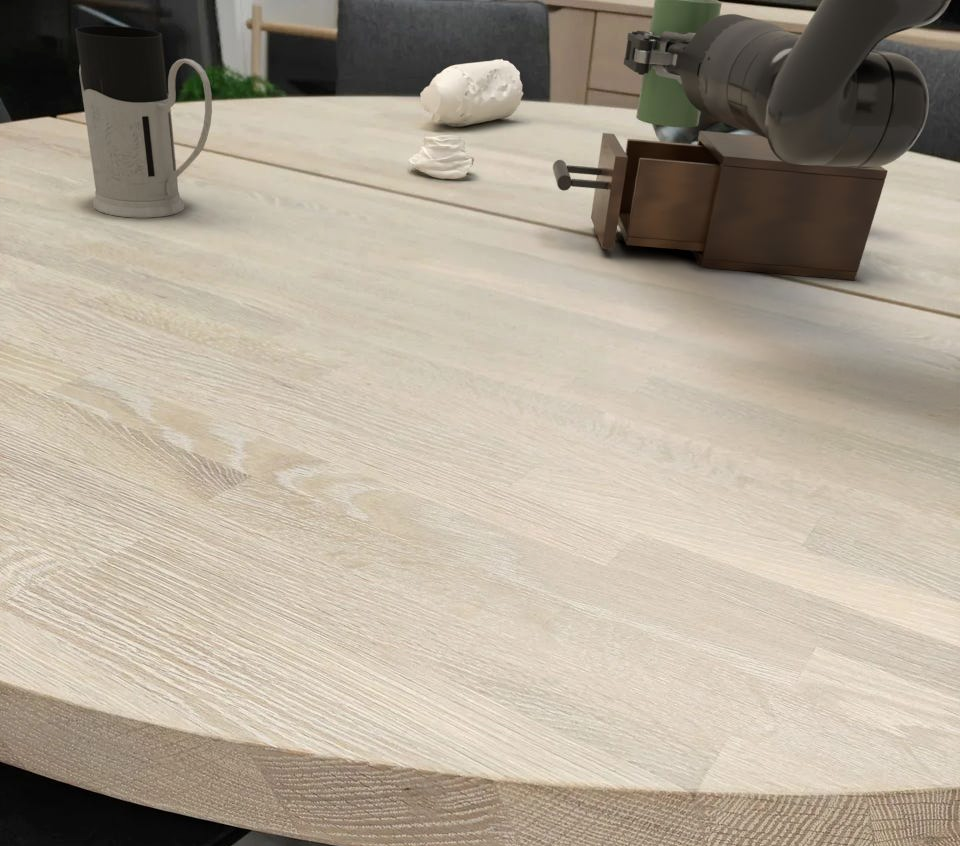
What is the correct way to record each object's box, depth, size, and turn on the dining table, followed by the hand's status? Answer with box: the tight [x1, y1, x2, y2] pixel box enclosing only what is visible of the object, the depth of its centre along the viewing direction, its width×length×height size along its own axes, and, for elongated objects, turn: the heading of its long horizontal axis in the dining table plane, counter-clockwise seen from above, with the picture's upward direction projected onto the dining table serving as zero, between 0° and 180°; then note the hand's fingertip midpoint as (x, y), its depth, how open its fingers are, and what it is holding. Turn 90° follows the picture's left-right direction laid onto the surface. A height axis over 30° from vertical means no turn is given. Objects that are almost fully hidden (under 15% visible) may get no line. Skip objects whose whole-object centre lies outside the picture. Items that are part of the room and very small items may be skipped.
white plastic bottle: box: [419, 58, 525, 128], centre depth 146 cm, size 8×19×8 cm, turn 146°
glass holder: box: [74, 25, 213, 219], centre depth 94 cm, size 9×14×15 cm, turn 64°
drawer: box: [552, 132, 721, 251], centre depth 100 cm, size 19×11×8 cm, turn 90°
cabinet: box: [690, 131, 889, 281], centre depth 100 cm, size 16×13×10 cm
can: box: [635, 0, 723, 128], centre depth 93 cm, size 6×6×10 cm
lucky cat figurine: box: [651, 112, 760, 145], centre depth 128 cm, size 15×12×14 cm
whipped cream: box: [407, 135, 475, 180], centre depth 120 cm, size 8×7×5 cm
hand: (670, 46), depth 94 cm, fingers closed on can, 6 cm apart
